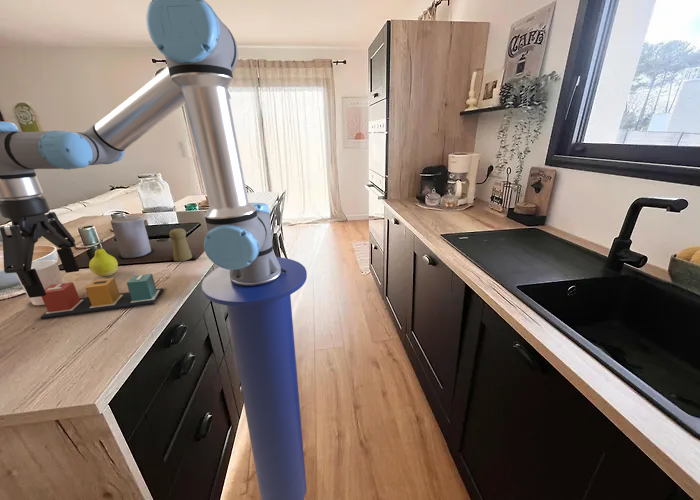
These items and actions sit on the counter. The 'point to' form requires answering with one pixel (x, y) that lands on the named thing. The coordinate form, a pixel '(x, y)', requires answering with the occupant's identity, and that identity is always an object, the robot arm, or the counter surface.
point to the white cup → (45, 276)
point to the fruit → (103, 263)
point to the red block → (60, 297)
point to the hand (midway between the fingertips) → (57, 283)
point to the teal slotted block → (141, 287)
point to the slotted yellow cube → (103, 292)
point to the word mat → (86, 305)
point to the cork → (180, 245)
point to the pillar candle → (131, 236)
